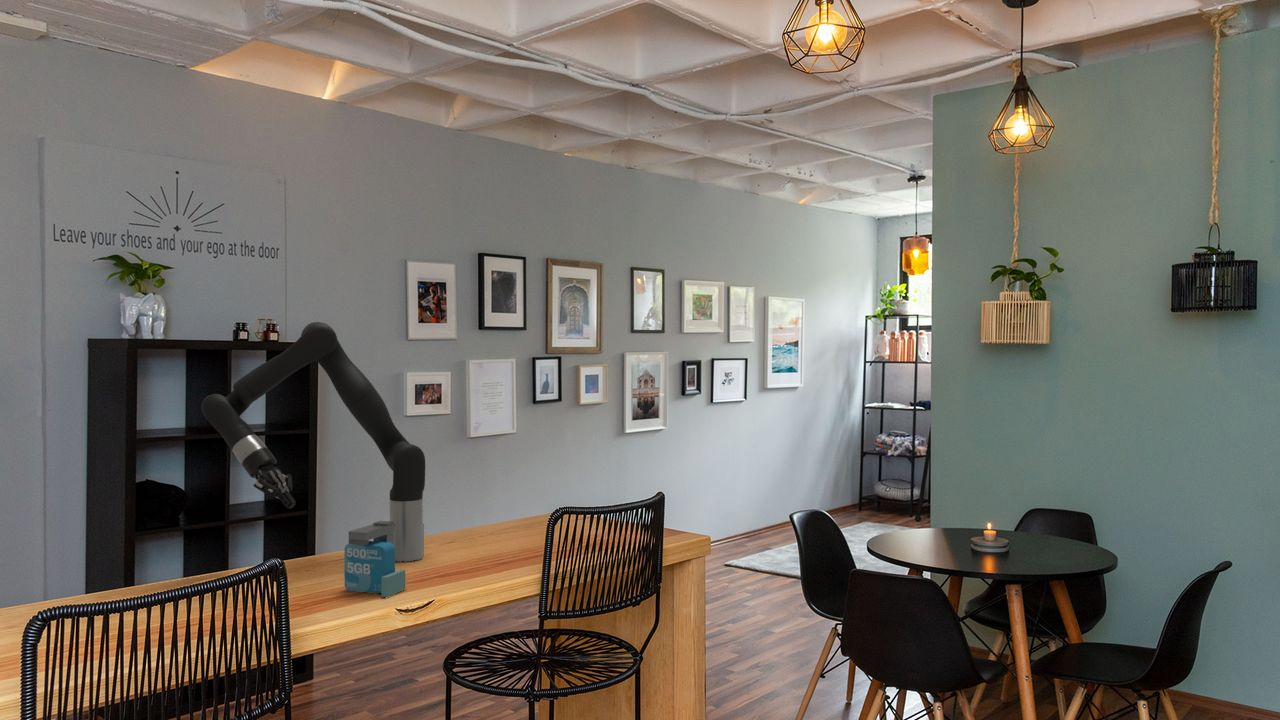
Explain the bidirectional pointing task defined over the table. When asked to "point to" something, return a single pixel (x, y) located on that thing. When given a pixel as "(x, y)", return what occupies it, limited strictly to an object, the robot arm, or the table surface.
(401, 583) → the end catch
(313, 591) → the table surface
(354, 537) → the lug bracket
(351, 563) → the data package
